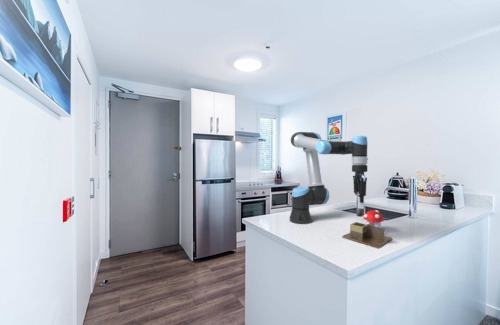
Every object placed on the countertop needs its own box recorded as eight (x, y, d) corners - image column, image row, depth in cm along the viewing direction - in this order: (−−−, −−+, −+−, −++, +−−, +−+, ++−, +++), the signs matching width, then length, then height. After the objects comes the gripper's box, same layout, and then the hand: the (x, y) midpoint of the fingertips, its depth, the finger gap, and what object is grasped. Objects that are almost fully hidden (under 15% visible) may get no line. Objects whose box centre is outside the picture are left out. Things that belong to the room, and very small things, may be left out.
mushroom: (373, 234, 124) (373, 213, 123) (359, 228, 134) (359, 209, 134) (388, 232, 126) (388, 212, 126) (372, 226, 137) (372, 207, 137)
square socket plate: (342, 237, 118) (342, 224, 118) (358, 230, 129) (358, 218, 129) (377, 248, 104) (377, 233, 104) (392, 239, 115) (392, 225, 115)
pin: (355, 215, 117) (355, 192, 117) (358, 214, 119) (358, 191, 119) (361, 216, 115) (361, 192, 114) (363, 216, 116) (363, 192, 116)
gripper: (373, 164, 108) (373, 211, 108) (361, 164, 124) (361, 204, 124) (357, 164, 109) (357, 210, 109) (347, 164, 125) (347, 204, 125)
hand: (359, 207), depth 117 cm, fingers closed on pin, 3 cm apart
